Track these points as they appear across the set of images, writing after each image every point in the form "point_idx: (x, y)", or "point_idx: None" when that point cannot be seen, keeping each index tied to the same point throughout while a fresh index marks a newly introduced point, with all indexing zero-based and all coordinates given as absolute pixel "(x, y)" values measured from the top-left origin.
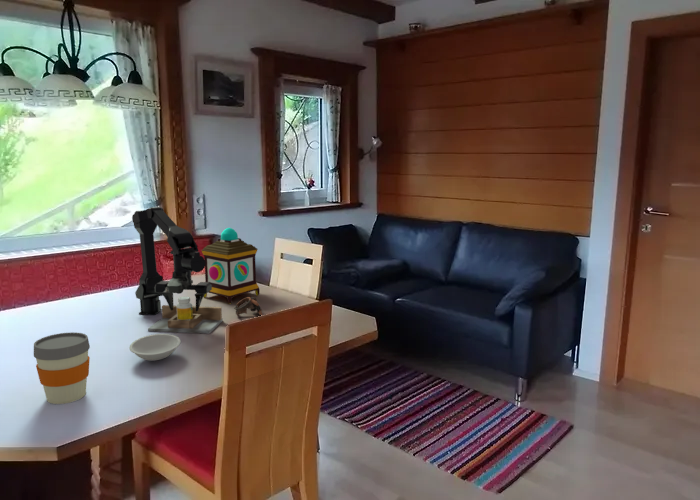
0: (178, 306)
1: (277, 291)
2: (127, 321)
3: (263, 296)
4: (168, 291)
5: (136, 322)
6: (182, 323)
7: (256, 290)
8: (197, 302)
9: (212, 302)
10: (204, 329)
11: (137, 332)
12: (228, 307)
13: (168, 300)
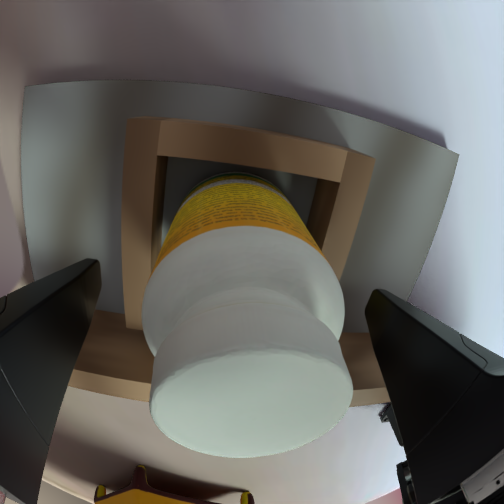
0: (316, 263)
1: (74, 488)
2: (497, 299)
3: (82, 478)
4: (499, 452)
5: (479, 291)
6: (231, 126)
7: (98, 497)
8: (11, 301)
9: (207, 475)
10: (57, 105)
11: (484, 142)
12: (125, 445)
13: (460, 346)
